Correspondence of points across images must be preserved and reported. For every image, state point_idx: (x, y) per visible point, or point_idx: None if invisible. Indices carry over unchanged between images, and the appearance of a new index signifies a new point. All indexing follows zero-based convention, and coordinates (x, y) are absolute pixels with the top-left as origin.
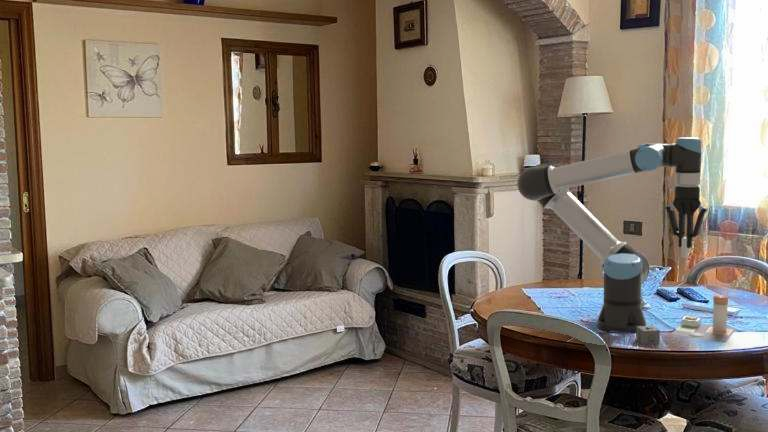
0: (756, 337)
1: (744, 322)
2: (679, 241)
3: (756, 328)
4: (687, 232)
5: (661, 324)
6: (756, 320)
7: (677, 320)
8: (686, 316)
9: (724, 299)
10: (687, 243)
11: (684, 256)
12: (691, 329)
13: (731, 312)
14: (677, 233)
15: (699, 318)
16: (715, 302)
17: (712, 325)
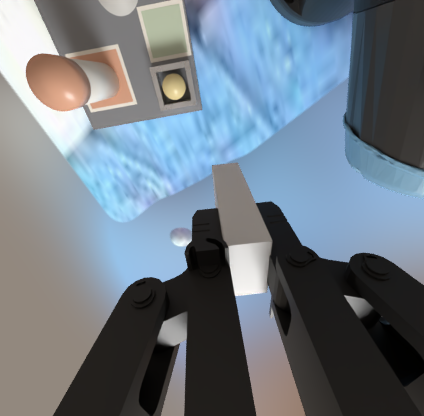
0: (37, 106)
1: (124, 195)
2: (283, 226)
3: (85, 172)
4: (227, 310)
5: (240, 66)
6: (118, 218)
7: (223, 128)
8: (192, 102)
9: (29, 65)
10: (216, 227)
11: (220, 168)
12: (154, 40)
13: (172, 235)
14: (342, 282)
15: (160, 104)
16: (66, 58)
17: (140, 119)
